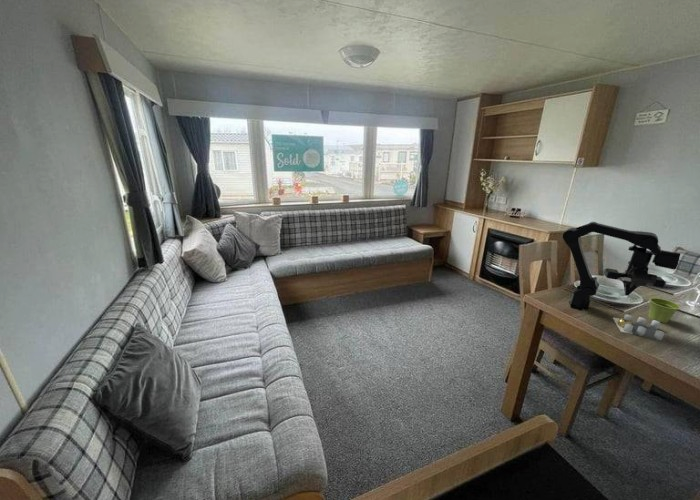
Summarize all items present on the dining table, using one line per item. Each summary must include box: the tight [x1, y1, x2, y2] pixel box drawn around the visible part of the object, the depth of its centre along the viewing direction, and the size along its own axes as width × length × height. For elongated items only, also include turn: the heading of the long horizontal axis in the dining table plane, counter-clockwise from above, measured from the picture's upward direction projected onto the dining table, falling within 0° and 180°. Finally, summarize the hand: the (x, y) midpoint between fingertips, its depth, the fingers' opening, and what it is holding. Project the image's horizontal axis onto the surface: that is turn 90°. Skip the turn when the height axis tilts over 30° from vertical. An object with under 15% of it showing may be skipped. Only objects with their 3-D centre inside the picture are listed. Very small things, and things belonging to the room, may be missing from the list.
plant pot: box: [648, 297, 681, 324], centre depth 129 cm, size 9×9×9 cm
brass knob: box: [616, 317, 633, 328], centre depth 124 cm, size 4×4×3 cm
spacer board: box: [612, 313, 666, 343], centre depth 122 cm, size 15×12×4 cm
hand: (626, 295), depth 127 cm, fingers closed
